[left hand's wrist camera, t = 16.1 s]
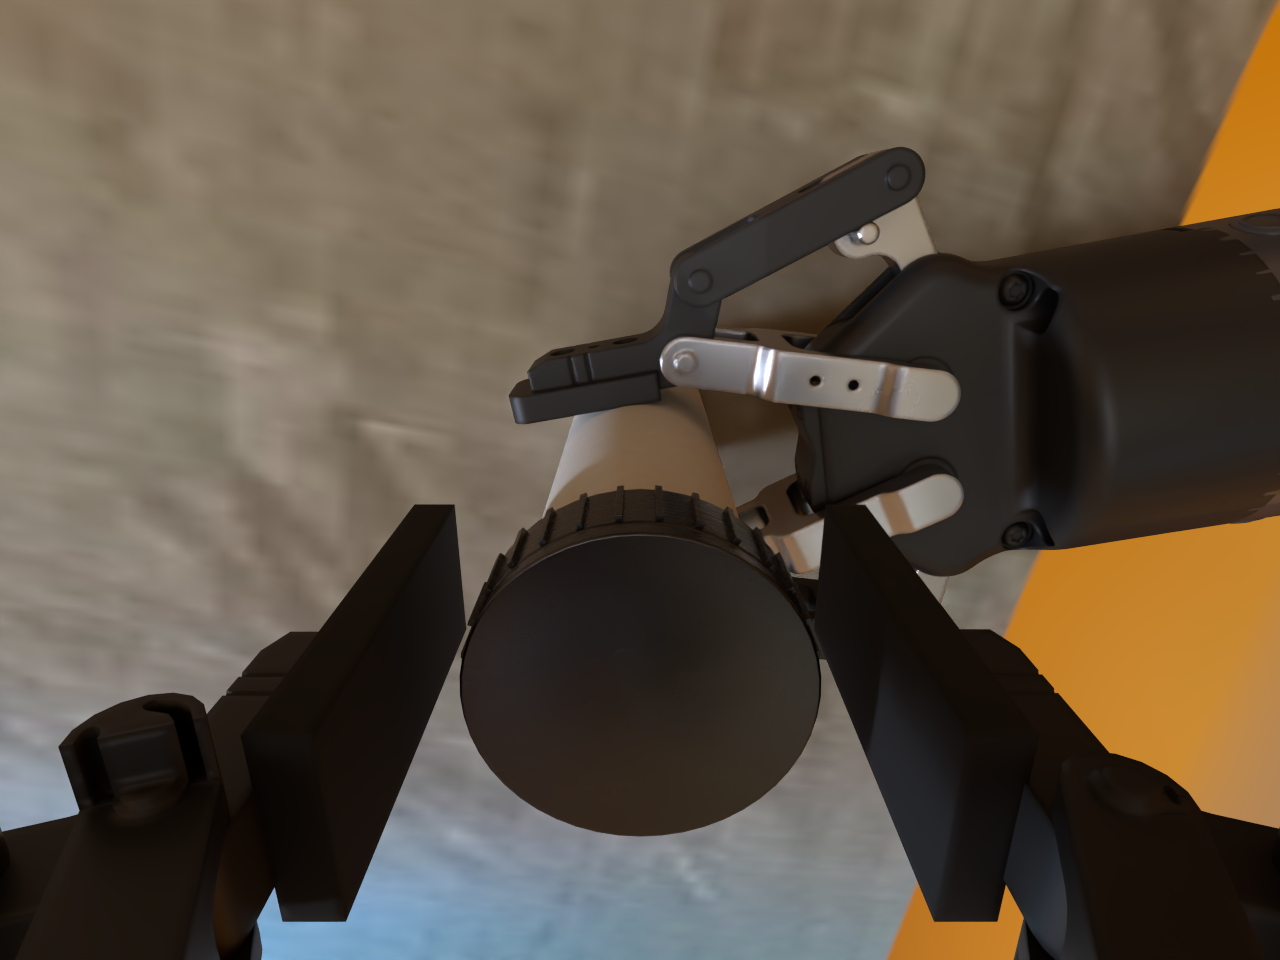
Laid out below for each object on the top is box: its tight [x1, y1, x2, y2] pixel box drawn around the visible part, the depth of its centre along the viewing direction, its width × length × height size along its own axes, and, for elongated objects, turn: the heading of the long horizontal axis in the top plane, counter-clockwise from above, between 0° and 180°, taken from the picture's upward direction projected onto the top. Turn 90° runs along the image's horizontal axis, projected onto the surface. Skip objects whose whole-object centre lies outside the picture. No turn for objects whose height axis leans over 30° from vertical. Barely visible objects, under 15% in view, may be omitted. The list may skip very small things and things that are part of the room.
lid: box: [460, 485, 821, 836], centre depth 11 cm, size 5×5×2 cm
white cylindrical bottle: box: [542, 386, 739, 519], centre depth 19 cm, size 4×4×16 cm
